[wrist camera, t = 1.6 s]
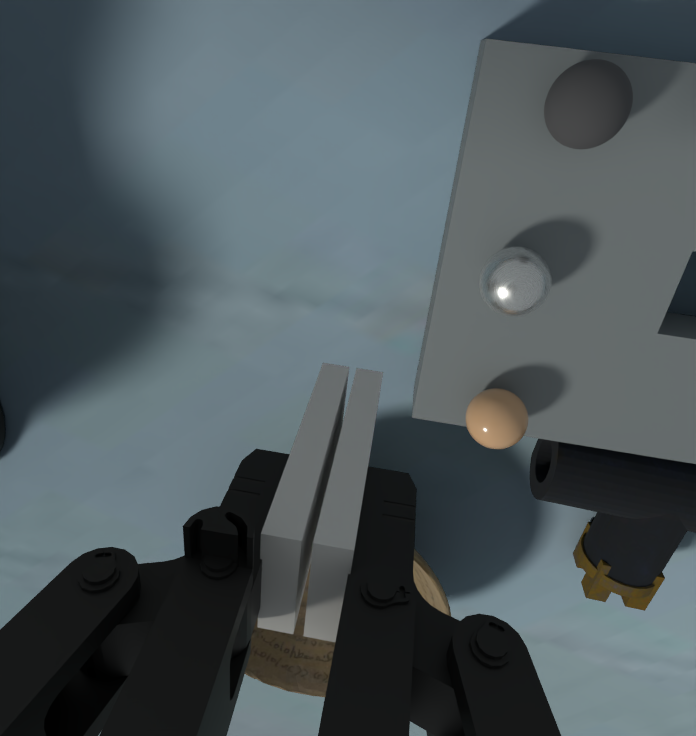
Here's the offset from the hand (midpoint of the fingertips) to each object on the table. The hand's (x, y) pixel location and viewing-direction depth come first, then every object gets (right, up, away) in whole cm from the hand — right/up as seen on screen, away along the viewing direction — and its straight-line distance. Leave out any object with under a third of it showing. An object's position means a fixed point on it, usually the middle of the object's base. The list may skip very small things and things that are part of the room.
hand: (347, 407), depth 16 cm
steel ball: (+8, +6, +12) cm, 16 cm away
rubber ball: (+10, +13, +8) cm, 19 cm away
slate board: (+15, +7, +15) cm, 22 cm away
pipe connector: (+20, -8, +23) cm, 31 cm away
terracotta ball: (+9, -1, +16) cm, 19 cm away
